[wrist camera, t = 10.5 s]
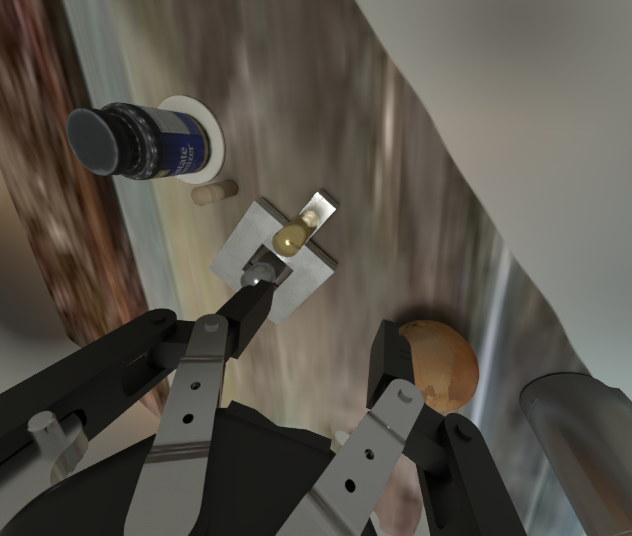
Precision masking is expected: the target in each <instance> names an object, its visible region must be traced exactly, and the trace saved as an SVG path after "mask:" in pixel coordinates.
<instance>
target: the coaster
mask: <svg viewBox="0 0 632 536" xmlns="http://www.w3.org/2000/svg"><path fill="white" fill-rule="evenodd" d="M157 109H163V110H169V111H175V112H181V113H186V114H189V115H191V116H192V117H194V118H195V119H197V120H198V121H199V122H200V124H201V125H202V126H203V127H204V128H205V130H206V132H207V134H208V137H209V140H210V148H211V154H210V159H209V162H208V163H207V165H206V166H205V167H204V168H203V169H202V170H201V171H199V172H197V173H190V174H183V175H175V177H177V178H178V179H180V180H182V181H184V182H187V183H191V184H200V183H205V182H208V181H210V180H212V179H213V178H215V177H216V176H217V175H218V173H219V172H220V170H221V168H222V166H223V163H224V160H225V140H224V136H223V132H222V129H221V127H220V125H219V123H218V121H217V119H216V118H215V116H214V115H213V113H212V112H211V111H210V110H209V109H208V108H207V107H206V106H205V105H204V104H202V103H201V102H199V101H198V100H196V99H193V98H190V97H186V96H180V95H178V96H172V97H169V98H167V99H165V100H164V101H163V102H162V103H161V104H160V105H159V106H158V108H157Z"/></svg>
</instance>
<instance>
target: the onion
mask: <svg viewBox="0 0 632 536" xmlns="http://www.w3.org/2000/svg"><path fill="white" fill-rule="evenodd" d="M398 329H399V335H402V336H405V337H406V338H407V340H408V341H409V343H410V345H411V355H412V362H413V370H414V379H415V386H416V387H417V388H418V389H419V391H420V392H421V394H422V396H423V399H424V402H425V403H426V404H427V405H428V406H429V407H431V408H432V409H434V410H435V411H437V412H438V413H445V412H449V411H453V410H456V409H458V408H460V407H462V406H463V405H464V404H466V403H467V402H468V401H469V400H470V399H471V398H472V397H473V395H474V393H475V391H476V388H477V385H478V380H479V367H478V362H477V358H476V356H475V353H474V351H473V350H472V348H471V346H470V345H469V343H468V342H467V341H466V340H465V339H464V338H463V337H462V336H461V335H460V334H459V333H457V332H456V331H455V330H454V329H452V328H451V327H449V326H448V325H446V324H444V323H441V322H437V321H432V320H415V321H411V322H410V323H406V324H405V325H403V326H401V327H400V328H398Z"/></svg>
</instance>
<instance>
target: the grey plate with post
mask: <svg viewBox="0 0 632 536" xmlns="http://www.w3.org/2000/svg"><path fill="white" fill-rule="evenodd" d="M338 206H339V205H338V204H337V203H336V202H335V201H334V200H333V199H332V198H331V197H330V196H329V195H327V194H326V193H325V192H324V191H323V190H322V189H321V190H319V191H318V192H317V193H316V194H315V195H314V196H313V198H312V199H311V200H310V201H309V202H308V204H307V205H306V206H305V207H304V209H303V210H302V211H301V212H300V213H299V215H298V216H297V217H296V218H294V219H293V220H292V221H291V222H289V221H288V220H287V219H286V218H285V217H283V216H282V215H281V214H280V213H279V212H278V211H277V210H276V209H274V208H273V207H272V206H271V205H270V204H269V203H268V202H267V201H266V200H264V199H263V198H259V199H257V200H255V201H254V202H253V203H252V205H251V206H250V208H249V209H248V211H247V212H246V214H245V215H244V217H243V218H242V220H241V221H240V222H239V224H238V225H237V227H236V228H235V230H234V231H233V233H232V234H231V236H230V237H229V239H228V240H227V242H226V243H225V245H224V246H223V248H222V249H221V251H220V252H219V253H218V255H217V256H216V258H215V259H214V261H213V262H212V264H211V265H210V267H209V268H208V269H210V270H211V271H212V272H213V273H214V274H216V275H217V276H218V277H219V278H220V279H222V280H223V281H224V282H225V283H226V284H228V285H229V286H230V287H231V288H232V289H234V290H235V291H236V292H238V291H239V290H240V289H241V288H242V286H241V282H240V279H241V276H242V275H243V274H244V273H245V272H246V271H247V270H248V269H249V268H250V267H252V265H251V264H250V263H249V262H250V261H251V260H252V259H253V257H254V256H255V255H256V254H257V252H258V251H259V250H260V248H261V247H262V246H263V245H265V246H266V247H267V248H268V249H269V250H271V251H272V252H273V253H274V254H275V255H276V256H278V257H279V258H280V259H281V260H282V261H283V262H284V263H286V264H287V265H288V266H289V267H290V268H291V269H292V270H293V271H292V272H291V273H290V274H289V275H288V276H287V277H286V279H285V280H284V281H283V282H282V283H281V284H280V285H279V286H278V287H277V286H275V287H274V294H273V300H272V306H271V310H270V312H269V315H268V316H267V318H269V319H270V320H271V321H272V322H273V323H275V324H276V325H277V326H278V325H279V324H280V323H281V322H282V321H283V320H284V319H285V318H286V317H287V316H288V315H289V314H290V313H291V312H293V311H294V310H295V309H296V308H297V307H298V306H299V305H300V304H301V303H302V302H303V301H304V300H305V299H306V298H307V297H308V296H309V295H311V294H312V293H313V292H314V291H315V290H316V289H317V288H318V287H319V286H320V285H321V284H322V283H323V282H324V281H325V280H326V279H328V278H329V277H330V276H331V275H332V274H333V273H334V272H335V269H336V267H337V264H336V263H335V262H334V261H333V260H331V259H330V258H329V257H328V256H327V255H326V254H325V253H324V252H323V251H321V250H320V249H319V248H318V247H317V246H316V245H315V244H314V243H312V242H311V241H310V240H309V239H310V237H311V236H312V235H313V234H314V233H315V232H316V231H317V230H318V229H319V227H320V226H321V225H322V224H323V223H324V222H325V221H326V220H327V219H328V217H329V216H330V215H331V214H332V213H333V212H334V211H335V210H336V208H337V207H338Z"/></svg>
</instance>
